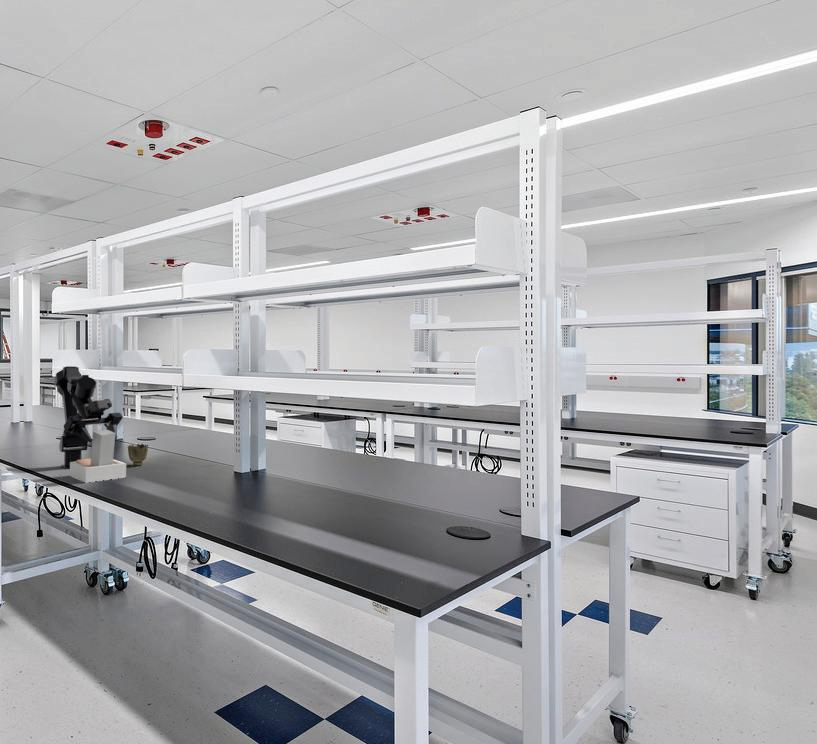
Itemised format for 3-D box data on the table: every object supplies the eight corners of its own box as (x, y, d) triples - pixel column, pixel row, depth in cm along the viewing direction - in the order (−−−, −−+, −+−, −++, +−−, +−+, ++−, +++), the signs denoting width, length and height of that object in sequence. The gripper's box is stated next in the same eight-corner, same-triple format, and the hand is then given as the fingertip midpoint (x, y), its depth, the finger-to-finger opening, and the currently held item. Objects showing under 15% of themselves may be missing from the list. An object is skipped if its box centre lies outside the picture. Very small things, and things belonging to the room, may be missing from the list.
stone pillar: (90, 465, 201) (93, 431, 199) (104, 463, 205) (107, 429, 203) (98, 469, 198) (101, 435, 196) (112, 467, 203) (115, 433, 201)
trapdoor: (75, 470, 204) (76, 459, 204) (105, 467, 212) (106, 456, 211) (88, 482, 197) (89, 471, 196) (118, 478, 204) (119, 467, 203)
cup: (130, 467, 221) (130, 447, 220) (125, 464, 226) (125, 444, 226) (150, 465, 225) (150, 445, 225) (145, 462, 231) (145, 443, 231)
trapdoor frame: (69, 476, 204) (69, 462, 204) (109, 471, 214) (109, 457, 214) (85, 483, 194) (85, 468, 194) (126, 477, 204) (126, 463, 203)
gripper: (68, 392, 195) (87, 427, 190) (119, 390, 211) (138, 422, 206) (55, 414, 199) (73, 449, 194) (106, 410, 215) (124, 442, 210)
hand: (103, 440), depth 201 cm, fingers open, 9 cm apart
